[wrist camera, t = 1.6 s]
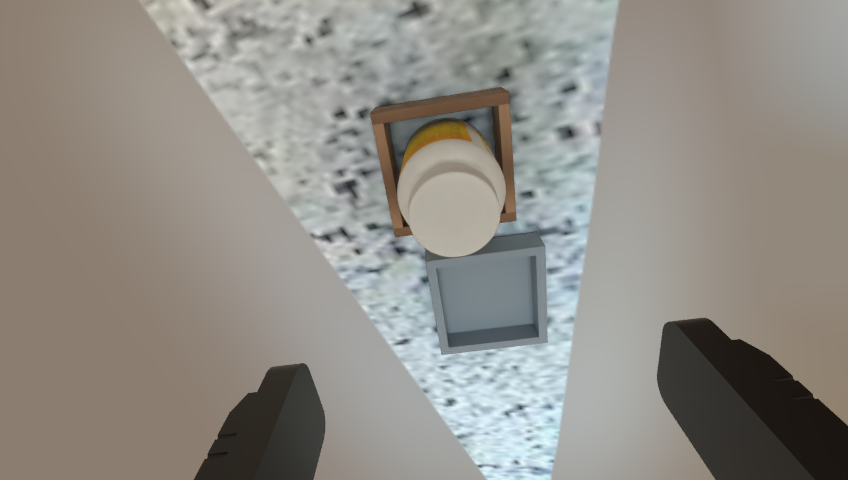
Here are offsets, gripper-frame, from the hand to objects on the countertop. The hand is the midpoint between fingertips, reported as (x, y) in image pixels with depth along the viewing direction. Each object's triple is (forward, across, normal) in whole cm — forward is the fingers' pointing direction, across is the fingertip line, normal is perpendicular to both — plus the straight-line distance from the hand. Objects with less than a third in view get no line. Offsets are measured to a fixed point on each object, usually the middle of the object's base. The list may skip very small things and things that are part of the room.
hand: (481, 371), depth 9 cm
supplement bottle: (+19, 0, 0) cm, 19 cm away
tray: (+19, -2, +10) cm, 21 cm away
